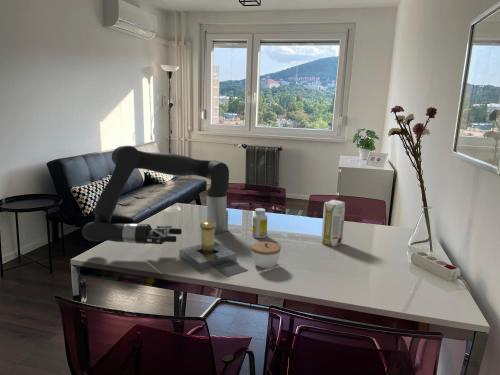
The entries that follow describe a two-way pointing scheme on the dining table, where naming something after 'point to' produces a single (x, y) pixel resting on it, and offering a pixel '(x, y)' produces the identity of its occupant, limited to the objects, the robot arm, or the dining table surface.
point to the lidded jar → (265, 254)
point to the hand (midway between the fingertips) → (178, 235)
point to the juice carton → (333, 222)
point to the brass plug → (207, 237)
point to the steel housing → (209, 261)
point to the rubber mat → (230, 269)
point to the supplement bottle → (259, 223)
